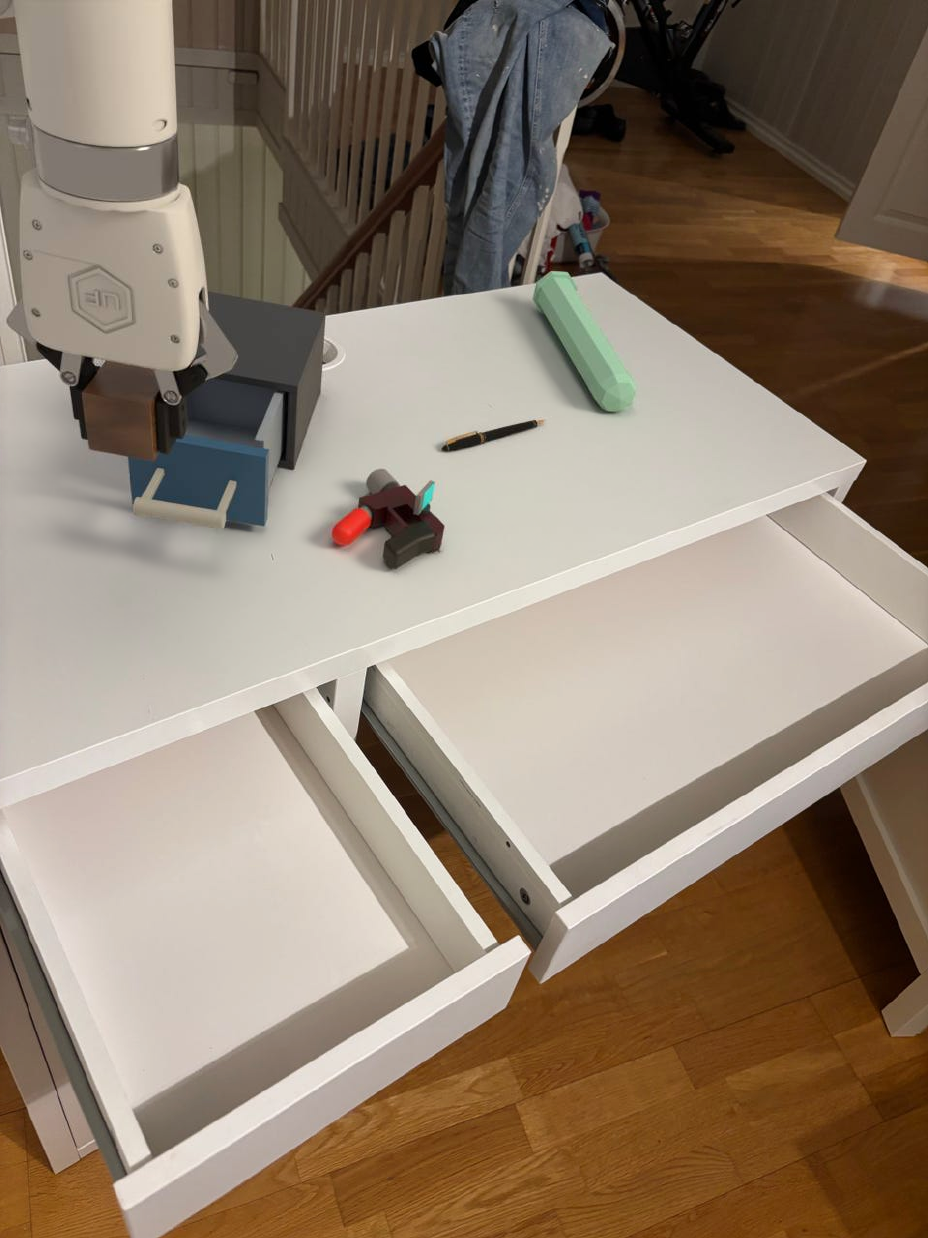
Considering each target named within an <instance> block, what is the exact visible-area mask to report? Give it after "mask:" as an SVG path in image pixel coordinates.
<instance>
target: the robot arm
mask: <svg viewBox="0 0 928 1238" xmlns="http://www.w3.org/2000/svg"><path fill="white" fill-rule="evenodd" d="M9 18H10V19H11V18H15V27H16V33H17V34H16V35H17V40H18V48H19V55H20V62H21V69H22V76H23V83H24V90H25V98H26V104H27V113H28V115H26V116H23V118H20V117H15V116H10V117H9V118H8V119H7V123H6V132H7V134H6V135H7V138H8V141H9V142H10V143H11V144H16V145H20V146H22V147H23V148H24V149H28V151H29V152H30V159H31V165H32V167H33V168H31V169H28V171H26V172H25V173H24V174H23V175H22V178H21V184H20V197H19V198H20V199H19V264H20V279H21V290H22V296H21V298H20V299H19V301H18V302H17V303H16V304H15V306H14V307H13V309H12V310H11V311H10V313H9V314H8V316H7V317H6V320H5V321H6V324H7V326H8V327H9V328H10V329H11V330H12V331H13V332H15V333H16V334H18V336H20V337H21V338H23V339H24V340H25V341H27V342H28V343H29V344H31V345H34V346H35V348H36V350H37V352H38V353H39V354H40V355H41V356H42V357H43V358H44V359H45V360H46V361H48V362H49V363H50V365H52V366H53V367H54V368H55V370H57V371H58V372H59V379H60V381H61V382H62V383H63V384H64V385H66V386H68V387H69V394H70V402H71V408H72V415H73V419H74V420H76V421H78V425H79V432H80V438H81V439H82V440H85V441H88V438H87V431H86V423H85V415H84V407H83V399H82V392H83V390H84V389H85V388H86V386H87V385H88V384H89V382H90V381H91V380H92V378H93V377H94V376H95V374H96V373H97V371H98V370H99V369H100V367H101V366H100V365H96V364H95V363H94V362H95V359H98V360H102V361H106V360H107V361H112V362H117V363H123V364H128V365H133V366H139V367H144V368H150V369H153V371H154V374H155V377H156V380H157V383H158V386H159V390H160V396H159V398H158V400H157V401H156V403H155V422H156V437H157V450H158V451H159V452H160V453H161V454H166V455H168V454H169V453H170V451H171V449H172V447H173V445H174V443H175V442H176V440H177V439H183V437H184V435H185V433H186V429H187V411H186V395H187V394H189V393H190V392H192V391H193V390H194V389H196V388H197V387H199V386H200V385H202V384H203V383H204V382H205V381H206V380H208V379H210V378H214V377H216V376H218V375H221V374H223V373H225V372H227V371H229V370H231V369H232V368H233V366H234V364H235V362H236V360H237V358H238V354H237V352H236V350H235V349H234V347H233V346H232V344H231V343H230V342H229V340H228V339H227V337H226V336H225V334H224V333H223V331H222V330H221V328H220V327H219V326H218V324H217V323H216V321H215V320H214V318H213V317H212V315H211V314H210V312H209V308H208V293H207V291H208V283H207V275H206V265H205V264H206V263H205V258H204V257H205V256H204V250H203V244H202V243H203V242H202V237H201V234H200V233H201V232H200V226H199V223H198V217H197V213H196V209H195V206H194V201H193V197H192V194H191V191H190V189H189V187H188V186H187V185H185V184H183V183H180V169H179V168H180V166H179V141H178V138H179V137H178V117H177V115H178V114H177V91H176V90H177V89H176V88H177V87H176V64H175V37H174V36H175V35H174V13H173V0H0V20H2V19H9ZM198 342H199V344H200V345H201V346H202V348H203V349H204V351H205V352H206V354H205V355H204V356H198V357H196V358H195V355H196V352H197V346H198ZM194 358H195V359H194Z"/></svg>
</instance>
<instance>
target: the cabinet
mask: <svg viewBox="0 0 928 1238" xmlns="http://www.w3.org/2000/svg"><path fill="white" fill-rule="evenodd" d="M207 293H208V308H209V312H210V314H211V315H212V317H213V318H214V320H215V321H216V323H217V324H218V326H219V327H220V328H221V330H222V331H223V333H224V334H225V336H226V337H227V339H228V340H229V342H230V343H231V344H232V346H233V347H234V349H235V350H236V352H237V354H238V358H237V360H236V362H235V364H234V366H233V368H232V369H231V370H229V371H227V372H225V373H223V374H221V375H218V376H216V377H214V378H213V379H219V380H224V381H230V382H235V383H241V384H246V385H252V386H258V387H263V388H269V389H274V390H280V391H286V392H289V398H288V422H287V441H286V444H285V446H284V449H283V452H282V454H281V457H280V460H279V463H278V465H277V468H280V469H281V468H282V469H289V470H295V467H296V465H297V464H296V463H297V461H298V458H299V456H300V452H301V450H302V447H303V444H304V442H305V438H306V435H307V432H308V430H309V427H310V424H311V421H312V418H313V415H314V412H315V409H316V406H317V404H318V401H319V398H320V395H321V391H322V378H323V377H322V376H323V362H324V361H323V360H324V345H325V331H326V319H327V318H326V316H327V313H326V312H322V311H317V310H312V309H307V308H301V307H295V306H290V305H285V304H279V303H274V302H269V301H263V300H257V299H252V298H247V297H242V296H237V295H231V294H225V293H220V292H216V291H215V292H214V291H209V290H207ZM205 354H206V352H205V351H204V349H203V348H202V346H201V345H200V344H199V342H198V346H197V352H196V355H195V358H196V357H198V356H204V355H205ZM195 358H194V359H195Z"/></svg>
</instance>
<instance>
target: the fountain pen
mask: <svg viewBox="0 0 928 1238" xmlns="http://www.w3.org/2000/svg"><path fill="white" fill-rule="evenodd" d="M545 421H546V419H538V420H536V419H533V420H527V421H524V422H518V423H514V424H510V425H507V426H502V427H498V428H494V429H491V430H487V431H483V432H481V431H479V432H478V431H477V430H473V431H469V432H467V433H463V434H460V435H457V436H454V437H452V438H450V439H447V440H446V441H445V444H444V445H443V446H442V448H441V449H440V450H442V451H445V452H454V451H461V450H464V449H469V448H472V447H476V446H480V445H483V444H485V443H489V442H492V441H495V440H499V439H502V438H505V437H510V436H512V435H515V434H518V433H521V432H525V431H528V430H530V429H534V428H537V427H538V426H539V425H541V424H543V423H544V422H545Z"/></svg>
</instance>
